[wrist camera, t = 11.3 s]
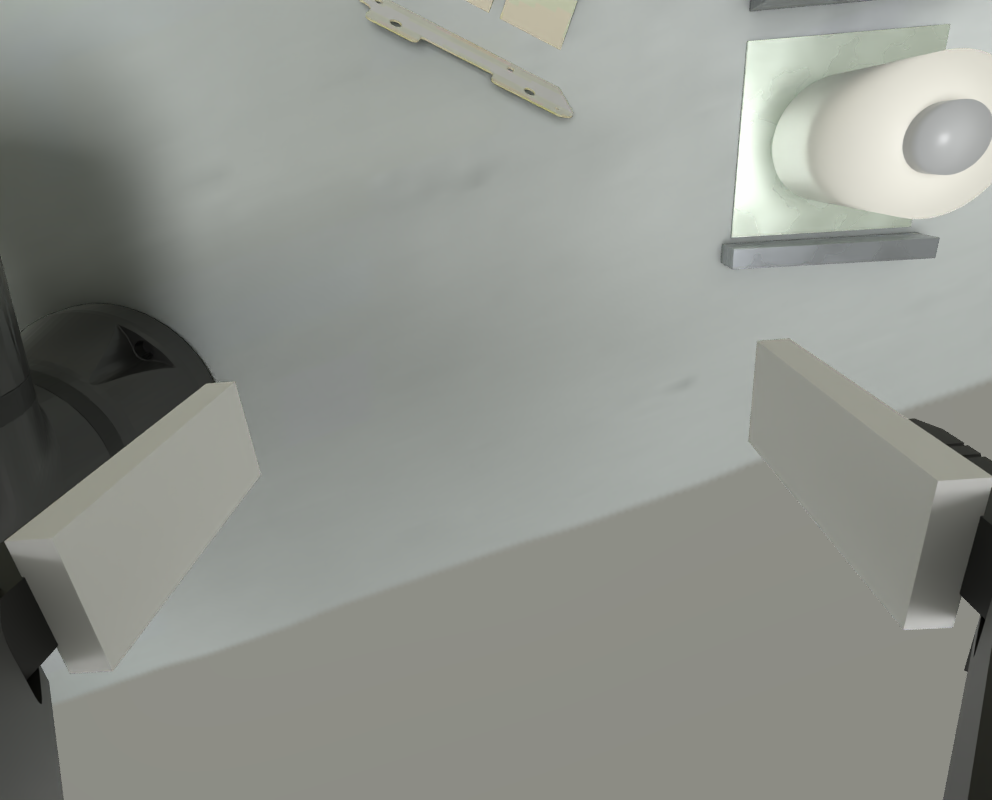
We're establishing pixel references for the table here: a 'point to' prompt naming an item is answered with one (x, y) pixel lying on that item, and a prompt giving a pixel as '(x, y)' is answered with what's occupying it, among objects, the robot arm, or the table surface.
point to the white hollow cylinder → (892, 136)
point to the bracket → (530, 7)
